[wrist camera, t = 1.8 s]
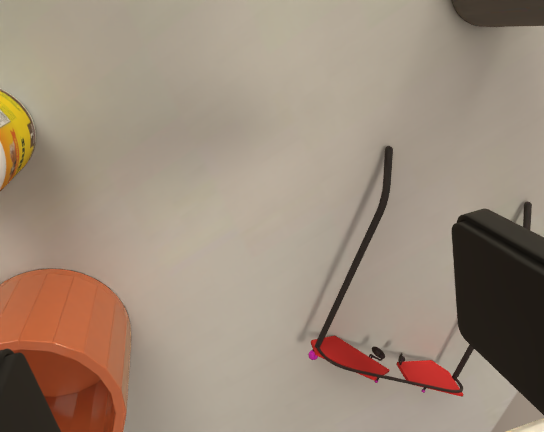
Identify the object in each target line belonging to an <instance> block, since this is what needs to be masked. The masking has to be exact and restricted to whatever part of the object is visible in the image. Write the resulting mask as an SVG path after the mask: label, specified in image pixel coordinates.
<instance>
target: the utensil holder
mask: <svg viewBox="0 0 544 432" xmlns="http://www.w3.org/2000/svg"><path fill="white" fill-rule="evenodd" d="M6 348H8V349H11V350H12V351H13V352H14V354H15V353H19V352H20V353H22V354H23V355H24V356H25V358H26V360H27V362H28V364H29V366H30V368H31V370H32V372H33V374H34V376H35V378H36V380H37V382H38V385H39V387H40V389H41V391H42V393H43V395H44V397H45V399H46V401H47V403H48V405H49V407H50V410H51V412H52V414H53V416H54V418H55V420H56V422H57V424H58V426H59V428H60V430H61V432H123V430H124V425H125V419H126V413H127V398H128V382H129V366H130V351H131V327H130V321H129V317H128V314H127V312H126V309H125V307H124V305H123V304H122V302H121V301H120V299H119V298H118V297H117V296H116V295H115V293H114V292H112V291H111V290H110V289H109V288H108V287H107V286H105V285H104V284H102V283H101V282H100V281H98V280H96V279H94V278H92V277H90V276H87V275H85V274H82V273H78V272H75V271H70V270H63V269H41V270H35V271H30V272H26V273H23V274H20V275H17V276H15V277H13V278H10V279H8V280H7V281H5V282H3V283H2V284H0V350H3V349H6Z"/></svg>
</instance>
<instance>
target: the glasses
mask: <svg viewBox="0 0 544 432" xmlns="http://www.w3.org/2000/svg"><path fill="white" fill-rule="evenodd" d="M392 155H393V148H392V147H390V146H388V147H386V148H385V160H384V179H383V190H382V195H381V199H380V203H379V206H378V208H377V211H376V213H375V215H374V217H373V220H372V222H371V224H370V226H369V228H368V230H367V233H366V235H365V237H364V239H363V241H362V243H361V246H360V248H359V250H358V252H357V254H356V257H355V259H354V261H353V263H352V265H351V268H350V270H349V272H348V274H347V276H346V278H345V281H344V283H343V285H342V287H341V289H340V292H339V294H338V296H337V298H336V300H335V302H334V305H333V307H332V309H331V311H330V313H329V315H328V318H327V320H326V322H325V324H324V326H323V329H322V331H321V333H320V335H319V337H318V339H315V340H312V341H311V345H312V347H313V350H311V351H310V352H309V358H310V359H311V360H315V359H317V358H318V356H319V357H321V358H323V359H326V360H327V361H328V362H330V363H332V364H333V365H335V366H338V367H340V368H343V369H345V370H349V371H353V372H356V373H358V374H360V375H363V376H365V377H367V378H370V379H372V380H374V381H375V383H377V382H378V379H379V378H384V379H389V380H394V381H398V382H403V383H408V384H412V385H416V386H420V387H424V388H423V389H422V392H423V393H424V392H425V389H426V388H428V389H433V390H437V391H441V392H445V393H449V394H453V395H457V396H461V397H462V396H463V393H462V391H463V386H462V384H461V383H460V381H459V380H458V379H457V377H458V376H459V374H460V373H461V371H462V369H463V367H464V365H465V364H466V362H467V360H468V358H469V356H470V355H471V353H472V351H473V349H474V348H473V347H472V346H471V345H469V347H468V348H467V350H466V352H465V354H464V356H463V357H462V359H461V361H460V363H459V365H458V367H457V368H456V370H455V372H454V374H453V376H451V374H450V373H449V372H448V371H447V370H445V369H444V368H442V367H441V366H439V365H438V364H436V363H435V362H433V361H432V360H426V361H406V362H404V361H405V357H403V356H402V353H401V354H400V356H399V360H398V361H399V362H397V366H398V368H399V369H400V371H401V373H402V374H403V376H404V377H405V379H406V380H403V379H398V378H394V377H389V376H384V375H385V374H386V373H388V372H389V369H387V368H386V367H384V366H383V365H381V364H379V363H378V362H376V361H375V360H373V359H372V357H373V358H376V359H378V360H379V361H381V360H382V359H384V358H385V354H384V353H383V351H382V350H381V349H379V348H378V347H372V351H373V353H374V354H375V355H376V356H377V357H379V358H381V359H379V358H377V357H375V356H373V355H372V354H369V357H368V356H367V355H365V354H363V353H362V352H360V351H359V350H357V349H356V348H354V347H352V346H351V345H349V344H348V343H346V342H344V341H343V340H341V339H340V338H338V337H336V336H331V337H326V338H325V336H326V334H327V331H328V329H329V327H330V325H331V323H332V321H333V319H334V317H335V314H336V312H337V310H338V308H339V306H340V304H341V302H342V300H343V297H344V295H345V293H346V291H347V289H348V287H349V285H350V283H351V281H352V278H353V276H354V274H355V272H356V270H357V268H358V266H359V264H360V262H361V259H362V257H363V255H364V253H365V251H366V249H367V247H368V245H369V243H370V240H371V238H372V236H373V234H374V232H375V230H376V228H377V226H378V224H379V221H380V219H381V217H382V215H383V213H384V210H385V208H386V205H387V201H388V197H389V193H390V185H391V170H392ZM531 208H532V204H531V203H530V202H526V203H525V204H524V219H523V227H524V228H526V229H528V230H530V225H531ZM370 356H371V358H370ZM455 381H456V382H457V383H458V384H459V386H460V388H459V387H458V385H457V384H456V382H455Z"/></svg>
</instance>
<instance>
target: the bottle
mask: <svg viewBox="0 0 544 432" xmlns="http://www.w3.org/2000/svg"><path fill="white" fill-rule="evenodd" d="M452 3H453V5H454V7H455V9H456V11H457V13H458V14H459V15H460V17H462V18H463V19H464V20H465V21H467V22H469V23H470V24H473V25H476V26H486V27H504V26H544V0H452Z"/></svg>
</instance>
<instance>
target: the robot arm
mask: <svg viewBox="0 0 544 432" xmlns="http://www.w3.org/2000/svg"><path fill="white" fill-rule="evenodd" d="M452 243H453V258H454V273H455V288H456V303H457V318H458V327H459V330H460V332H461V334H462V336H463V338H464V339H465V340H466V341H467V342H468V343H469V344H470V345H471V346H472V347H473V348H474V349H475V350H476V351H477V352H478V353H480V354H481V355H482V356H483V357H484V358H485V359H486V360H487V361H488V362H489V363H490V364H491V365H492V366H493V367H494V368H495V369H496V370H497V371H498V372H499V373H500V374H501V375H502V376H503V377H505V378H506V379H507V380H508V381H509V382H510V383H511V384H512V385H513V386H514V387H515V388H516V389H517V390H518V391H519V392H520V393H521V394H523V396H524V397H525V398H526V399H527V400H528V401H530V402H531V403H532V404H533V405H534V406H535V407H536V408H537V409H538V410H539V411H540V412H541V413H542V414H543V415H544V238H543V237H542V236H540V235H538V234H536V233H534V232H532V231H530V230H528V229H526V228H524V227H522V226H520V225H518V224H516V223H514V222H512V221H510V220H508V219H506V218H504V217H502V216H500V215H498V214H496V213H494V212H492V211H490V210H488V209H481V210H477V211H474V212H471V213H467V214H464V215H460V216H459V218H458V220H457V223H456V224H454V225H453V227H452ZM0 432H61V430H60V428H59V426H58V424H57V422H56V420H55V418H54V416H53V414H52V412H51V410H50V407H49V405H48V403H47V401H46V399H45V397H44V395H43V393H42V391H41V389H40V387H39V385H38V382H37V380H36V378H35V376H34V374H33V372H32V370H31V368H30V366H29V364H28V362H27V360H26V358H25V356H24V355H23V354H22V353H20V352H19V353H15V354H14V352H13V351H12V350H11V349H8V348H6V349H3V350H0ZM506 432H544V418H542V419H539V420H536V421H534V422H531V423H528V424H525V425H522V426H520V427H517V428H514V429H511V430H508V431H506Z"/></svg>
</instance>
